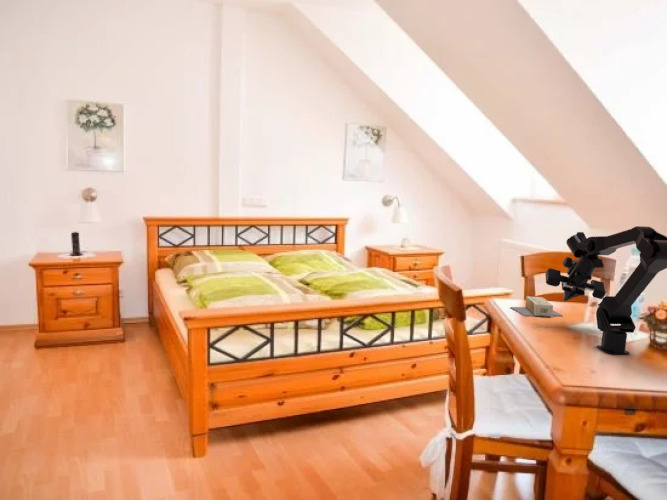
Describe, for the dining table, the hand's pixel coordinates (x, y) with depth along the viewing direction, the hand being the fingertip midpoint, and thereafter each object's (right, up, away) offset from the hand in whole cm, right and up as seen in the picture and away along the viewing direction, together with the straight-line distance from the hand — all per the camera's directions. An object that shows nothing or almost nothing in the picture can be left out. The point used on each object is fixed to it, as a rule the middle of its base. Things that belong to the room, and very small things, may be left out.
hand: (564, 299), depth 182 cm
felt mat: (-3, -6, +17) cm, 18 cm away
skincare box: (-3, -5, +9) cm, 11 cm away
